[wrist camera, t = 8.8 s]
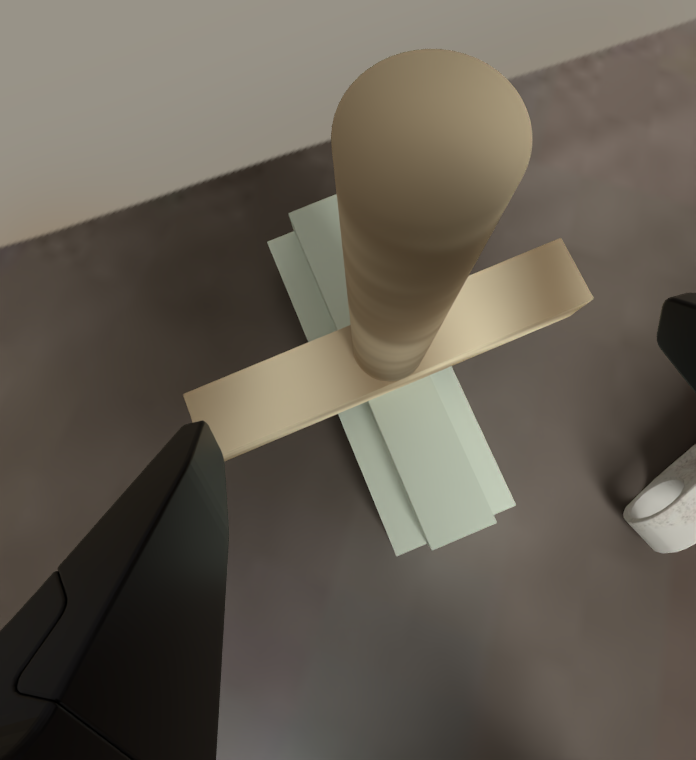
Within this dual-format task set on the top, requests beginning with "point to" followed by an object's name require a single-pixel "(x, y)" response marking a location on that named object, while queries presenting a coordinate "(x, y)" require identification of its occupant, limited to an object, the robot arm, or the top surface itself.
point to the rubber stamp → (408, 250)
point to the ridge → (396, 409)
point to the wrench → (667, 507)
